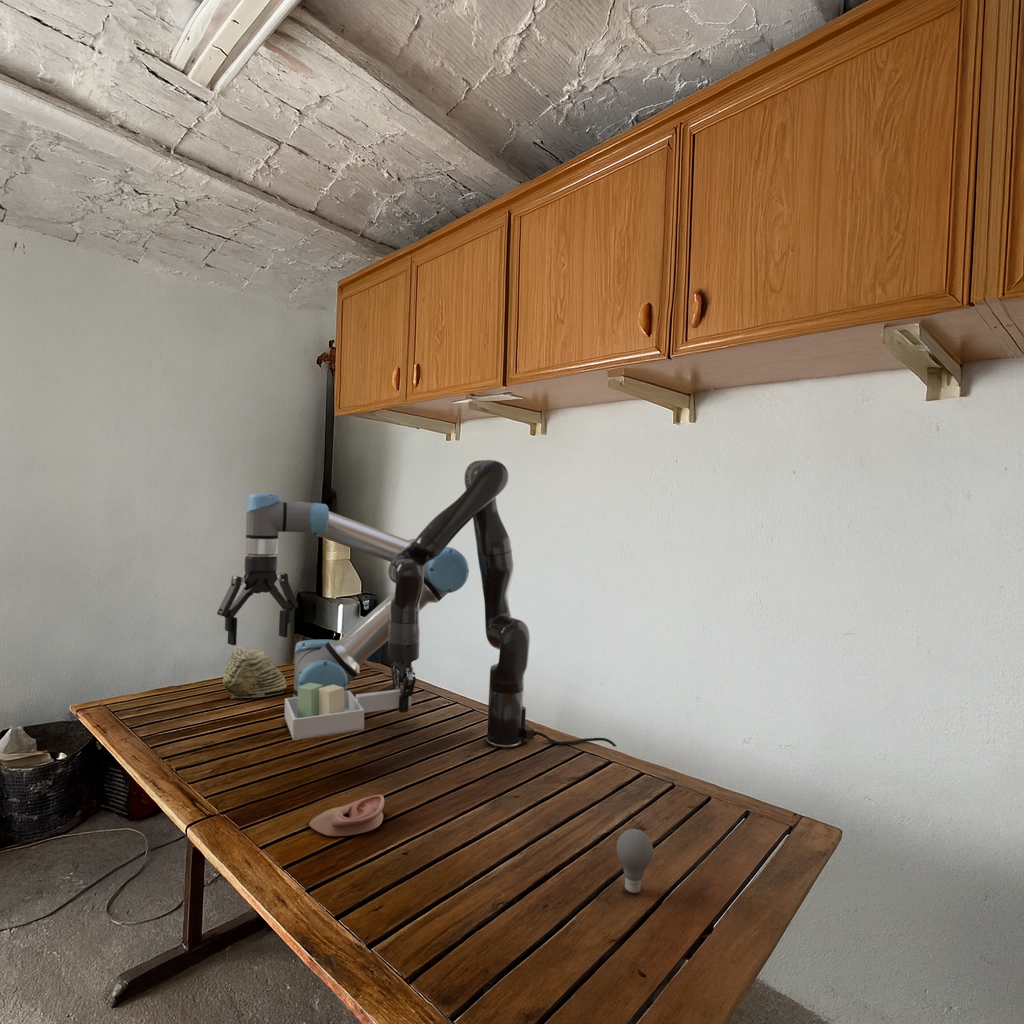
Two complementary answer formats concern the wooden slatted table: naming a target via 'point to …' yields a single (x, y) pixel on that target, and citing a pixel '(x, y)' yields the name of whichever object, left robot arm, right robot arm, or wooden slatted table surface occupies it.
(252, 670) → the fossil
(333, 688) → the block
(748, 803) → the wooden slatted table surface
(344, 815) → the anatomical model
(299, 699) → the block
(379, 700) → the tray
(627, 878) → the light bulb
